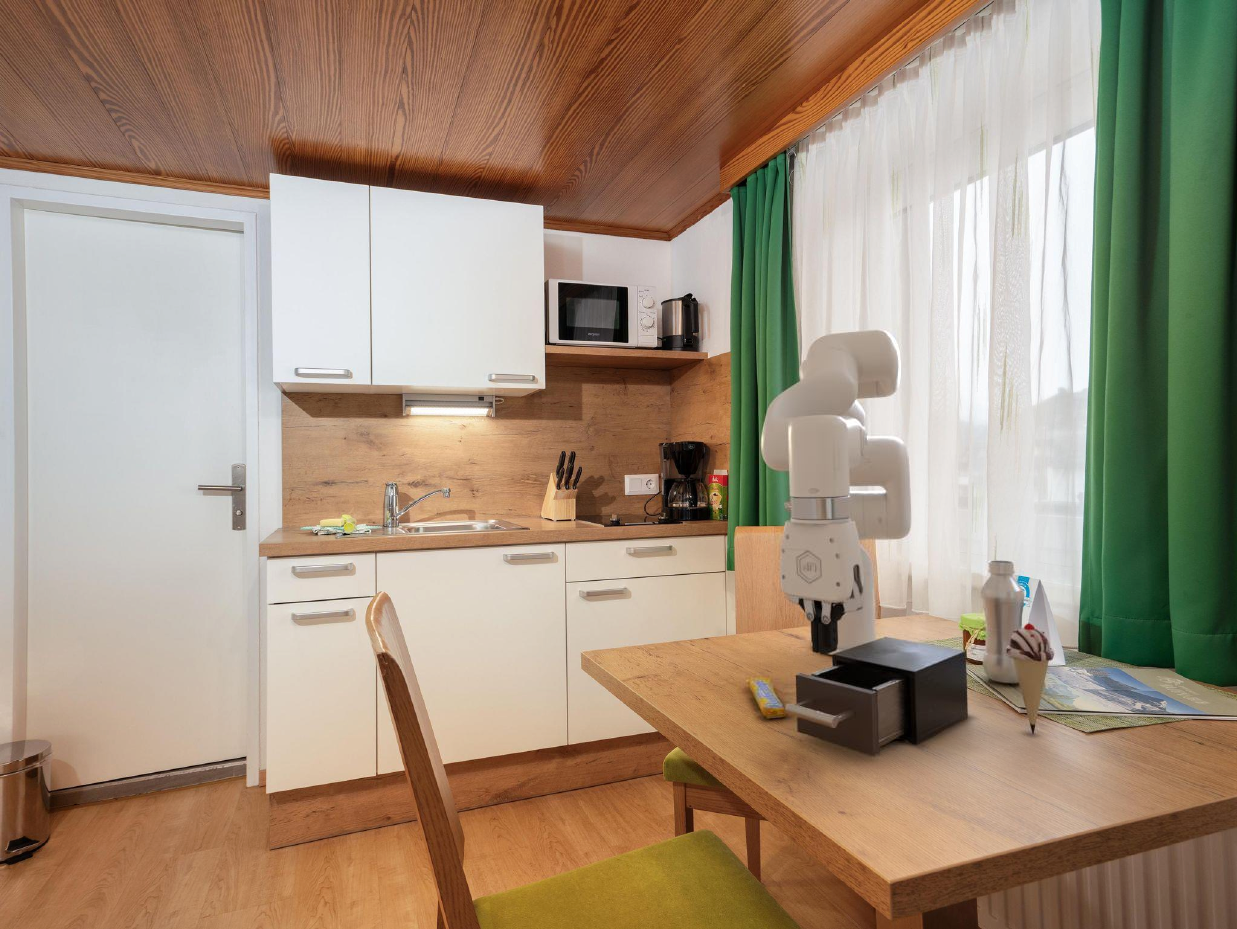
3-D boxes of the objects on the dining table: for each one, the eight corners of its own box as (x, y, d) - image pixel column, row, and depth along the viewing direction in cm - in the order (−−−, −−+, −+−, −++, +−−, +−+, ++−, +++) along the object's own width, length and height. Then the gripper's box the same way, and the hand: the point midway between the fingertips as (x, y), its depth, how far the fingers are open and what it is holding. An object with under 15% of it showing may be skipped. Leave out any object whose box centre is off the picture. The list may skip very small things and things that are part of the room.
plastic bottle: (1016, 675, 120) (1011, 558, 120) (1035, 688, 113) (1031, 564, 113) (976, 675, 121) (972, 559, 121) (993, 688, 114) (989, 565, 114)
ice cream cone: (998, 730, 96) (995, 621, 96) (1029, 724, 98) (1025, 616, 98) (1036, 745, 91) (1032, 629, 91) (1068, 738, 93) (1064, 624, 93)
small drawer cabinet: (917, 744, 92) (914, 671, 92) (833, 720, 102) (831, 654, 102) (968, 717, 101) (966, 650, 101) (887, 697, 111) (885, 636, 111)
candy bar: (791, 721, 102) (790, 708, 102) (762, 721, 102) (761, 708, 102) (770, 685, 119) (770, 674, 119) (745, 685, 119) (745, 674, 119)
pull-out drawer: (849, 769, 83) (846, 703, 83) (772, 742, 92) (770, 683, 92) (927, 728, 95) (925, 671, 95) (853, 708, 104) (851, 655, 104)
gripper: (756, 510, 94) (761, 646, 95) (855, 514, 83) (860, 669, 83) (790, 506, 99) (795, 636, 99) (889, 510, 88) (893, 656, 88)
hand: (824, 651), depth 91 cm, fingers closed
